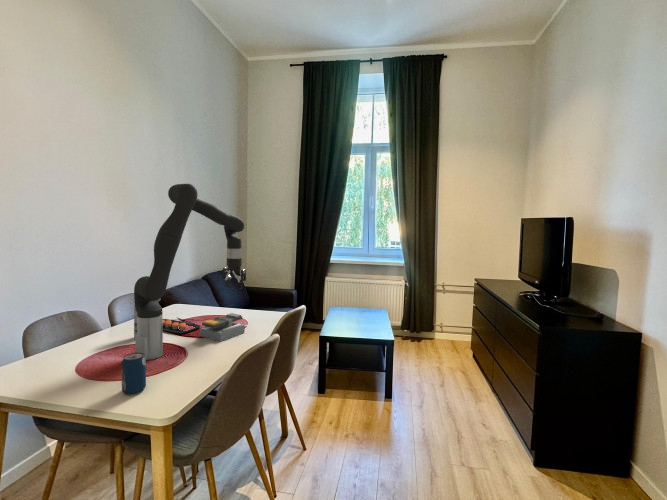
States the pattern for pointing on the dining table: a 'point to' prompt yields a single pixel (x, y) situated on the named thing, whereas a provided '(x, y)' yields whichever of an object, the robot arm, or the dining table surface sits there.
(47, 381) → the dining table surface
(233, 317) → the breaker rocker
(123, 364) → the soda can
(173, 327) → the sushi plate
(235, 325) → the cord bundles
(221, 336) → the switch box
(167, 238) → the robot arm
